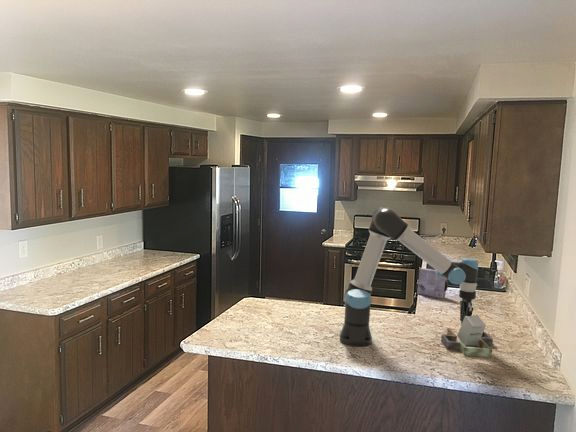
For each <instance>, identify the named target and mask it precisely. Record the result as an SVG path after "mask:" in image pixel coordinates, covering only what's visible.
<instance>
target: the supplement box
mask: <svg viewBox="0 0 576 432" xmlns="http://www.w3.org/2000/svg"><path fill="white" fill-rule="evenodd" d="M485 329H486V323H485V322H484V321H483V320H482V318H480V316H479V315H472V316H465V317H464V320H463V322H462V325H460V328H459V330H458V333H457V334H456V336H457V339H459V342H462V343H463V344H464V345H465V346H466V347H475V346H478V343H479V341H480V339H481V336H482V334H483V332H485Z"/></svg>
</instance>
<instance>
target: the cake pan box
mask: <svg viewBox="0 0 576 432" xmlns="http://www.w3.org/2000/svg"><path fill="white" fill-rule="evenodd" d="M417 282H418V283H417V289H416V290H417V291H416V294H418V295H422V296H423V295H424V296H428V297H433V298H439V299H445V298H446V294H447V293H446V292H447V290H448V288H449V280H448V279H447V278H445V277H441V276H437V275H436V270H435V269H432V268H431V269H430V268H424V267H420V268H419V274H418V281H417Z"/></svg>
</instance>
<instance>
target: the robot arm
mask: <svg viewBox="0 0 576 432" xmlns="http://www.w3.org/2000/svg"><path fill="white" fill-rule="evenodd" d="M409 227H410V226H409V224H408V222H406V221H404V220H403V218H401V216H400V215H398V213H397V212H396V211H395V210H393V209H392V208H390V207H386V206H382V207H379V208H377V209H376V210H375V211H373V213H372V215H371V221H370V225H369V228H368V232H369V237H368V240H367V242H366V246H365V248H364V251H363V254H362V256H361V258H360V262H359V264H358V267H357V271H356V274H355V276H354V278H353V279H351V280H350V281H349V284H348V287H347V288H346V290H345V292H344V294H343V301H344V307H345V308H344V323H343V326H342V329H341V330H340V333H339V342H341V343H342V344H345V345H347V346H353V347H366V346H370V345H371V344H372V342H373V336H372V333H371V329H370V315H371V303H372V298H371V297H372V296H371V295H372V292H373V287H372V282H373V279H374V277H375V275H376V271H377V269H378V266H379V263H380V261H381V258H382V255H383V252H384V250H385V247H386V244H387V242H388V241H389V240H390V239H392V240H393V241H396V242H398V241H399V242H400V243H401V244H402V245H403V246H405V247H406V248H407V249H408V250H410V251H411V252H412V253H413V254H415V255H416V256H417V257H419V258H420V259H421V260H422V261H424V262H426V264H427V265H429V266H431V268H432V269H433V270H436V275H437V276H441V277H445V278H447V280H448V282H450V283H451V284H453V285H455V286H456V285H459V292H458V293H459V294H458V296H459V299H460V298H461V300H459V311H460V312H459V321H460V322H461V325H462V322H463V320H464V317H465V316H473V311H474V307H473V303H472V301H473V300H474V301H475V300H476V296H477V295H476V294H477V292H476V290H477V287H478V284H477V283H478V274H479V273H478V271H479V261H478V259H476V258H471V257H469V258H468V257H465V258H462V260H461V261H460V262H458V261H452V260H450V259H449V258H448V257H447V256H445V255H444V254H443V253H442V252H441V251H439V250H438V249H436V248H435V247H434V246H433V245H431V244H430V243H429V242H427V241H426V240H425V239H423V238H422V237H421V236H420V235H418V234H417V233H416V232H415V231H413V230H412V229H411V228H409ZM461 325H460V326H461Z"/></svg>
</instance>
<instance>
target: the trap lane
mask: <svg viewBox="0 0 576 432" xmlns="http://www.w3.org/2000/svg"><path fill="white" fill-rule="evenodd" d="M440 336H441V338H440V342H441V343H442V345H443V346H444V347H445V349H446V350H449V351H451V350H452V351H459V352H460V353H461V354H462V355H463V356H472V357H473V356H474V357H487V358H493V348H492V347H493V344H494V338H493V337H492V336H490V334H488V333H487V332H486V331H484V332H483V334H482V336H481V339H480V341H479V343H478V345H477V346H478V347H475V346H465V345H464V344H463V343H462V342H461V341H457V339H458V336H457V334H456V333H455V332H454V331H453V330H452V329H451V328H447V331H446V334H441V335H440Z"/></svg>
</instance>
